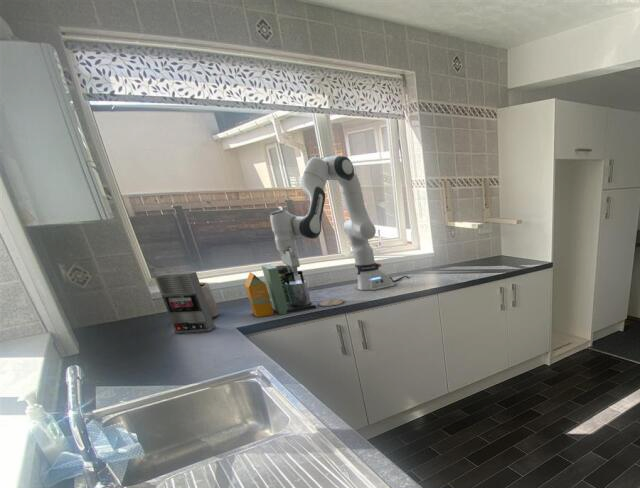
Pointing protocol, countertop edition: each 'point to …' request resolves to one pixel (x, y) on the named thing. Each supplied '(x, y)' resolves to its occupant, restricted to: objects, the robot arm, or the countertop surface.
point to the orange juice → (258, 296)
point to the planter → (210, 300)
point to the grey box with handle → (297, 290)
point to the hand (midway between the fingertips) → (293, 274)
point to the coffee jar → (284, 279)
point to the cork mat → (331, 303)
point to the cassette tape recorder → (185, 302)
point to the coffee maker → (279, 292)
